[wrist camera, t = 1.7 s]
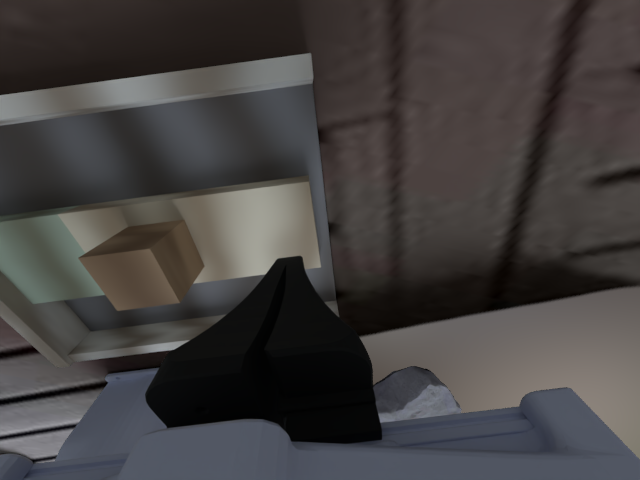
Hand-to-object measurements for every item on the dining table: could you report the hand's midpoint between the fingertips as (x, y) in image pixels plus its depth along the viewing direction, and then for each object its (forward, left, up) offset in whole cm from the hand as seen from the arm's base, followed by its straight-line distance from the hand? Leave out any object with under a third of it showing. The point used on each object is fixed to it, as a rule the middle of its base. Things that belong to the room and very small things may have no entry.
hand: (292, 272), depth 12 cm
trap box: (-10, 0, -7) cm, 13 cm away
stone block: (+12, -29, -8) cm, 32 cm away
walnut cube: (-10, 0, -5) cm, 11 cm away
